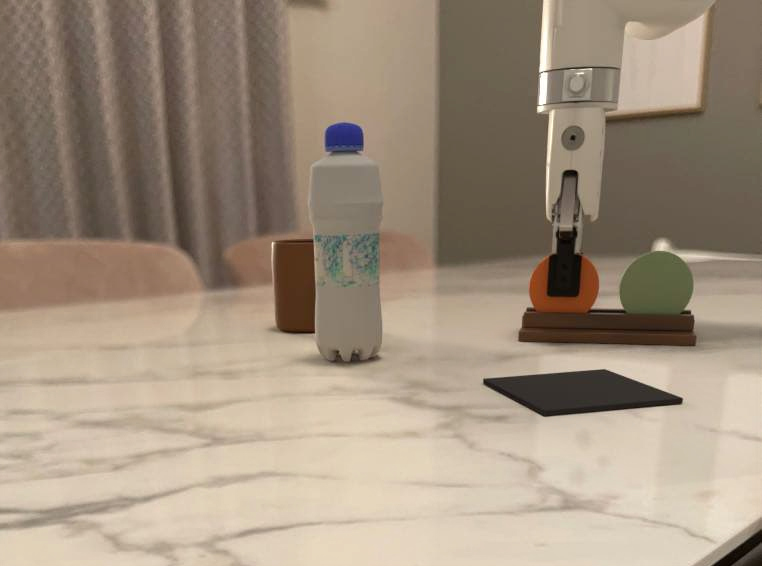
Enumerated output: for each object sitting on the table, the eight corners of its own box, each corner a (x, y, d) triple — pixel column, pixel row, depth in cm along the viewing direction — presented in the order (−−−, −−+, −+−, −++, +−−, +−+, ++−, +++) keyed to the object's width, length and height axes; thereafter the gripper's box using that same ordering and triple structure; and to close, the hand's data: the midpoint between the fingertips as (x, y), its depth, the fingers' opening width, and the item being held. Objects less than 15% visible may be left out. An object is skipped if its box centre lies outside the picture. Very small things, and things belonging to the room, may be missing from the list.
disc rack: (525, 327, 94) (526, 304, 93) (687, 330, 90) (690, 306, 89) (518, 341, 86) (519, 316, 85) (695, 345, 82) (699, 319, 81)
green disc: (615, 321, 88) (622, 250, 85) (687, 322, 86) (696, 250, 84) (616, 323, 87) (623, 251, 84) (688, 325, 85) (698, 251, 82)
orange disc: (528, 319, 90) (532, 250, 87) (596, 321, 88) (602, 250, 86) (526, 322, 89) (530, 251, 86) (595, 323, 87) (602, 251, 84)
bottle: (319, 351, 83) (310, 125, 76) (387, 350, 83) (385, 123, 75) (308, 364, 77) (298, 120, 69) (382, 364, 76) (379, 118, 69)
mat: (604, 373, 71) (604, 368, 71) (682, 403, 61) (683, 398, 61) (482, 383, 69) (482, 378, 69) (544, 416, 59) (544, 410, 59)
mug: (383, 323, 99) (383, 237, 95) (374, 333, 92) (373, 242, 88) (284, 322, 101) (279, 238, 97) (267, 333, 94) (262, 243, 90)
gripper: (620, 84, 72) (600, 305, 80) (618, 99, 87) (601, 286, 94) (531, 89, 74) (519, 304, 81) (543, 103, 88) (532, 285, 96)
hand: (563, 293), depth 88 cm, fingers closed
